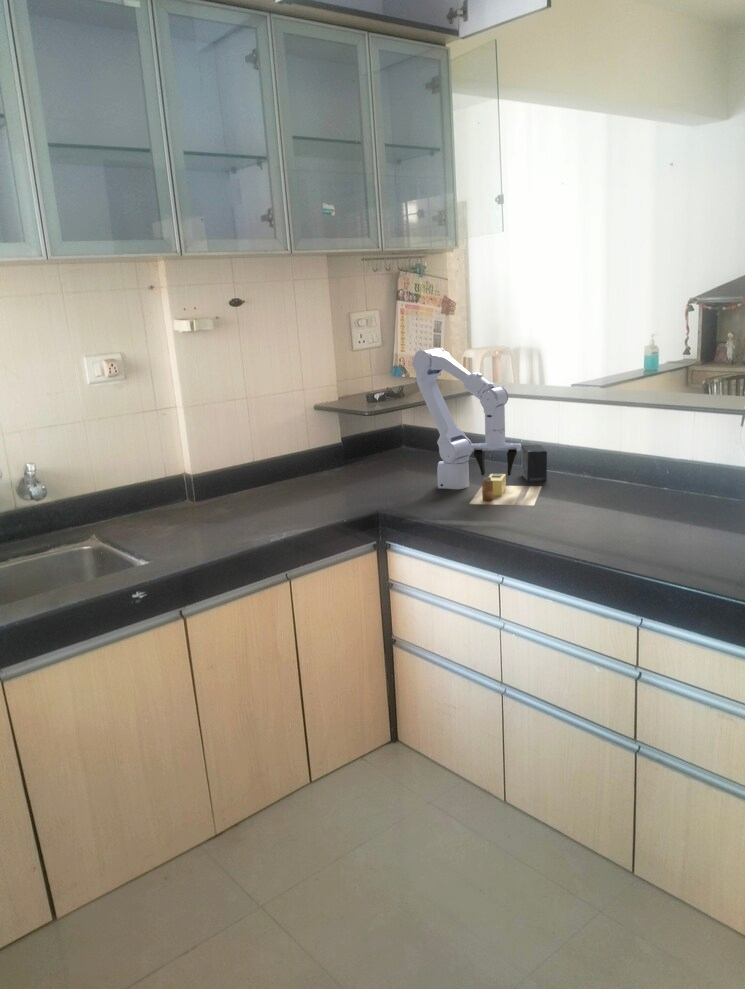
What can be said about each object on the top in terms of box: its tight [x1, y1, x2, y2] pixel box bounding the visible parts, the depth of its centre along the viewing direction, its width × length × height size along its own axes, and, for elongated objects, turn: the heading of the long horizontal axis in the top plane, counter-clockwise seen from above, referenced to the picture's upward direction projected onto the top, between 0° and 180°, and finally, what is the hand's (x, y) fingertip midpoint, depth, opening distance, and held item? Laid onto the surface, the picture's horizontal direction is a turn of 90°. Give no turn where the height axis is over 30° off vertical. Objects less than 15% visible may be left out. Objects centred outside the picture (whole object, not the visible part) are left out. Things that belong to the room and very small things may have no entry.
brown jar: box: [481, 476, 493, 501], centre depth 215 cm, size 3×3×6 cm
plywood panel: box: [469, 485, 543, 507], centre depth 220 cm, size 18×21×1 cm
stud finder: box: [488, 473, 507, 496], centre depth 223 cm, size 4×8×5 cm, turn 162°
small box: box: [521, 444, 548, 483], centre depth 237 cm, size 11×6×10 cm, turn 179°
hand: (496, 474), depth 222 cm, fingers open, 7 cm apart
